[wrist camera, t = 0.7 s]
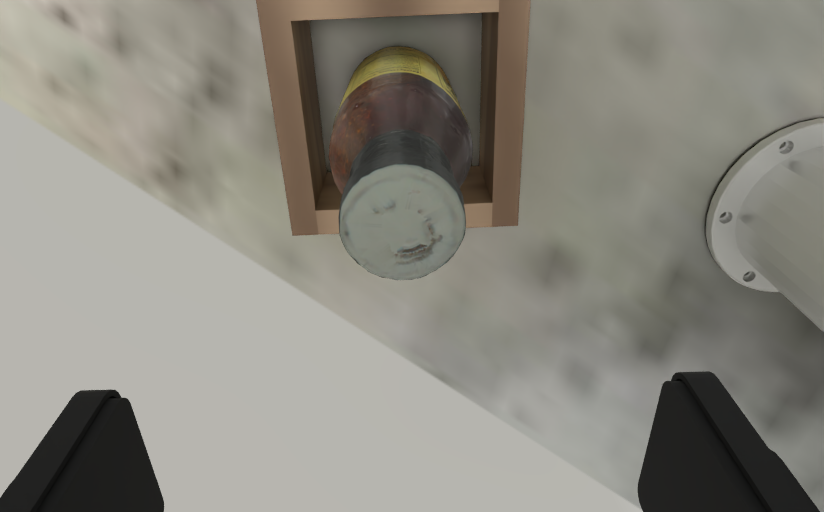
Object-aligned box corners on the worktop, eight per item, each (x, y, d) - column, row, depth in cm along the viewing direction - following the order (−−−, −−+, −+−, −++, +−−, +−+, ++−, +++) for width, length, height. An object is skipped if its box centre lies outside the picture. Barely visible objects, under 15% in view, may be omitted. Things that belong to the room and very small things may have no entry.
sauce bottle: (437, 151, 37) (474, 339, 20) (341, 134, 37) (292, 313, 19) (461, 46, 34) (527, 161, 17) (356, 25, 34) (313, 123, 16)
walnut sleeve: (509, -31, 32) (531, -25, 27) (501, 186, 39) (517, 225, 33) (277, -21, 32) (254, -13, 27) (306, 194, 39) (292, 235, 33)
